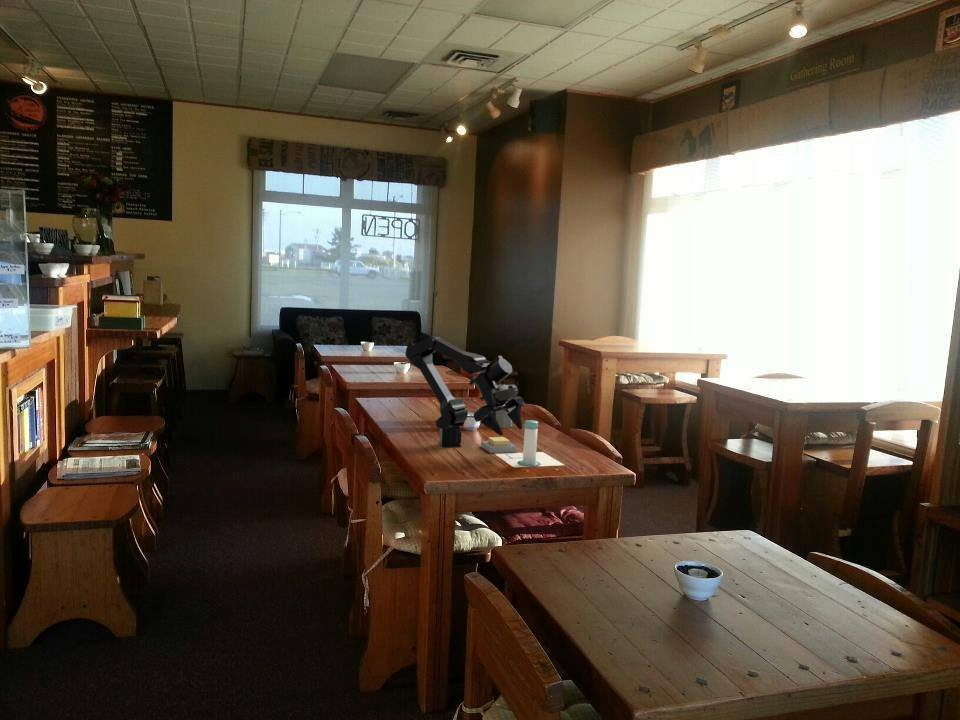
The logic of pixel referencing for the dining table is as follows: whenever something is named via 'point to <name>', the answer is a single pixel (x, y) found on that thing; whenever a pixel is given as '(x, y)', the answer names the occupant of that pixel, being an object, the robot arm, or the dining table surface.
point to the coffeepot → (502, 415)
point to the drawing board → (517, 461)
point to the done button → (498, 441)
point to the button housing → (498, 448)
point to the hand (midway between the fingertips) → (511, 432)
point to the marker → (530, 442)
